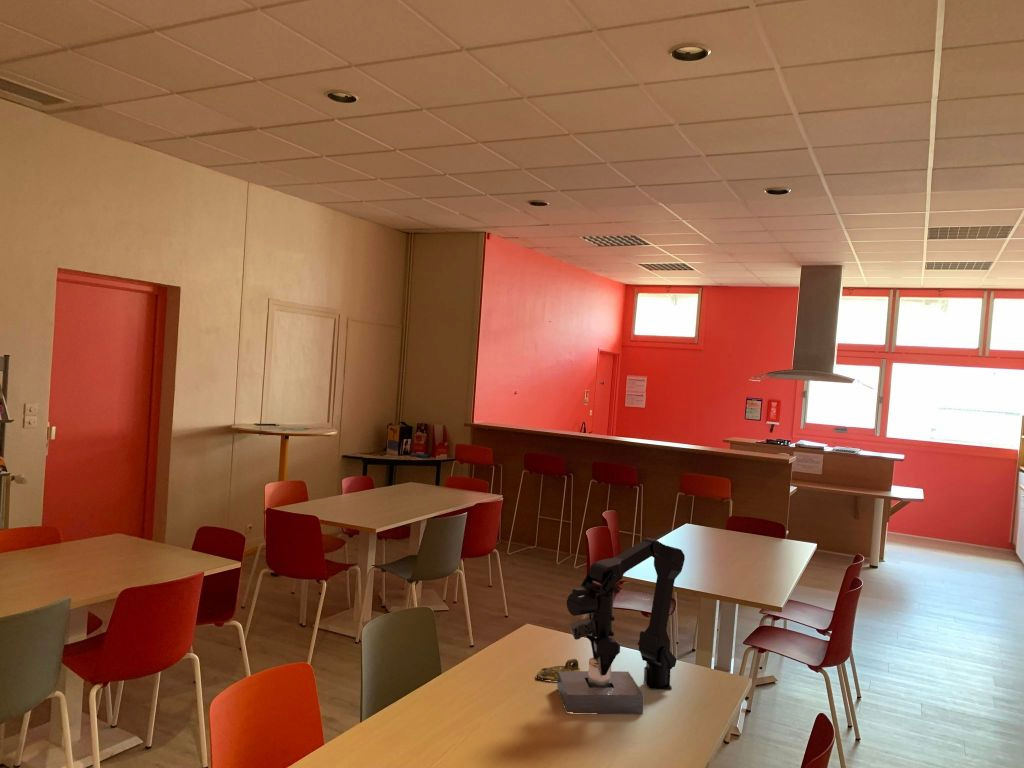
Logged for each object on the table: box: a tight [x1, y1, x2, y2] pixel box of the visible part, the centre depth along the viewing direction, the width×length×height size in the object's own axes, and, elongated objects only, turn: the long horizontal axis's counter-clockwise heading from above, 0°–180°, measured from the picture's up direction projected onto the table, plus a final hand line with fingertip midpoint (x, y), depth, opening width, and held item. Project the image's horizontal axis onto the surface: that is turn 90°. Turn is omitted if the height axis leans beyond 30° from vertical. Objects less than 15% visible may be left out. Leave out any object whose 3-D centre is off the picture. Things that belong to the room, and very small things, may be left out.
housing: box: [556, 670, 644, 715], centre depth 202 cm, size 20×16×5 cm
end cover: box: [588, 657, 612, 688], centre depth 202 cm, size 6×6×8 cm
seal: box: [535, 658, 581, 681], centre depth 219 cm, size 9×5×15 cm
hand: (599, 668), depth 202 cm, fingers open, 9 cm apart
